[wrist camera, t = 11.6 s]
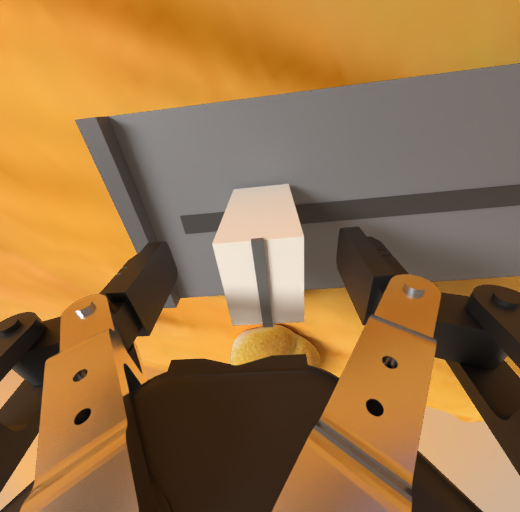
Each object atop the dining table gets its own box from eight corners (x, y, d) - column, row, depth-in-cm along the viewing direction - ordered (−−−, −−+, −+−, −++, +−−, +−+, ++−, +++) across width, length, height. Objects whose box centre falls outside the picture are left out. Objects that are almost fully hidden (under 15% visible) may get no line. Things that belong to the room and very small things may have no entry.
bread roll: (261, 308, 21) (260, 346, 18) (329, 346, 24) (340, 385, 21) (215, 351, 25) (207, 389, 22) (279, 379, 28) (281, 417, 24)
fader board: (180, 292, 20) (168, 319, 18) (111, 117, 13) (75, 120, 10) (583, 266, 18) (636, 292, 15) (772, 32, 11) (931, 8, 8)
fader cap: (244, 251, 15) (232, 329, 10) (233, 188, 13) (211, 244, 7) (291, 247, 15) (304, 325, 9) (288, 182, 12) (304, 237, 7)
